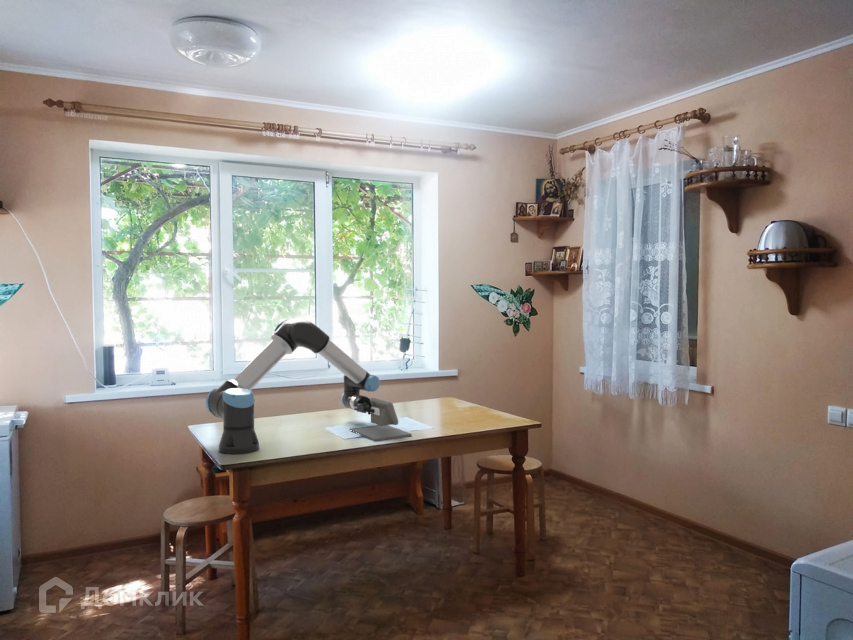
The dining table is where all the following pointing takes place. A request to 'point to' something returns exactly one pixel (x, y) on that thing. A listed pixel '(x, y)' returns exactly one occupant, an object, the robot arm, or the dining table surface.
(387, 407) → the digital clock
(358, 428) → the docking pad
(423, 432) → the dining table surface
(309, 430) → the dining table surface
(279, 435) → the dining table surface
